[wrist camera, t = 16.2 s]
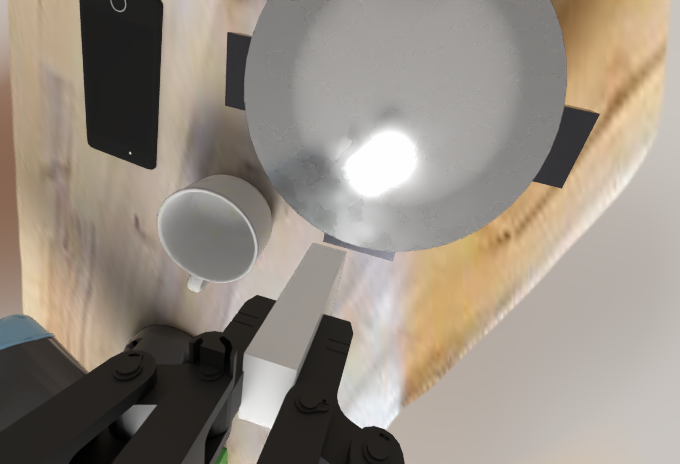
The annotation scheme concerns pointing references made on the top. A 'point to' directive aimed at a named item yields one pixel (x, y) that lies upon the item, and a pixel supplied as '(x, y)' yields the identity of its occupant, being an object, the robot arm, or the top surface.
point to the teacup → (215, 229)
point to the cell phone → (122, 76)
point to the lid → (404, 112)
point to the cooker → (552, 173)
